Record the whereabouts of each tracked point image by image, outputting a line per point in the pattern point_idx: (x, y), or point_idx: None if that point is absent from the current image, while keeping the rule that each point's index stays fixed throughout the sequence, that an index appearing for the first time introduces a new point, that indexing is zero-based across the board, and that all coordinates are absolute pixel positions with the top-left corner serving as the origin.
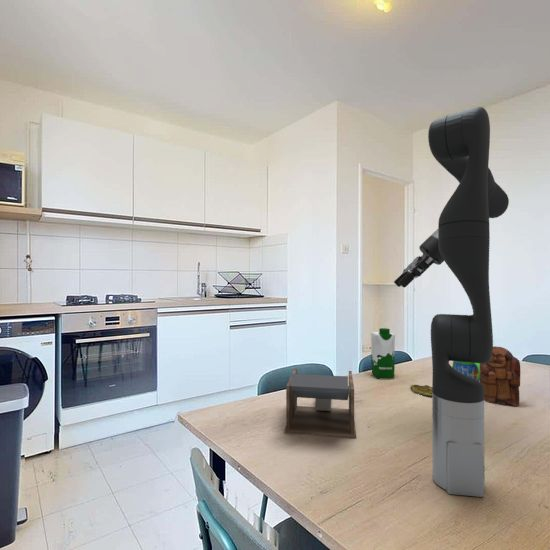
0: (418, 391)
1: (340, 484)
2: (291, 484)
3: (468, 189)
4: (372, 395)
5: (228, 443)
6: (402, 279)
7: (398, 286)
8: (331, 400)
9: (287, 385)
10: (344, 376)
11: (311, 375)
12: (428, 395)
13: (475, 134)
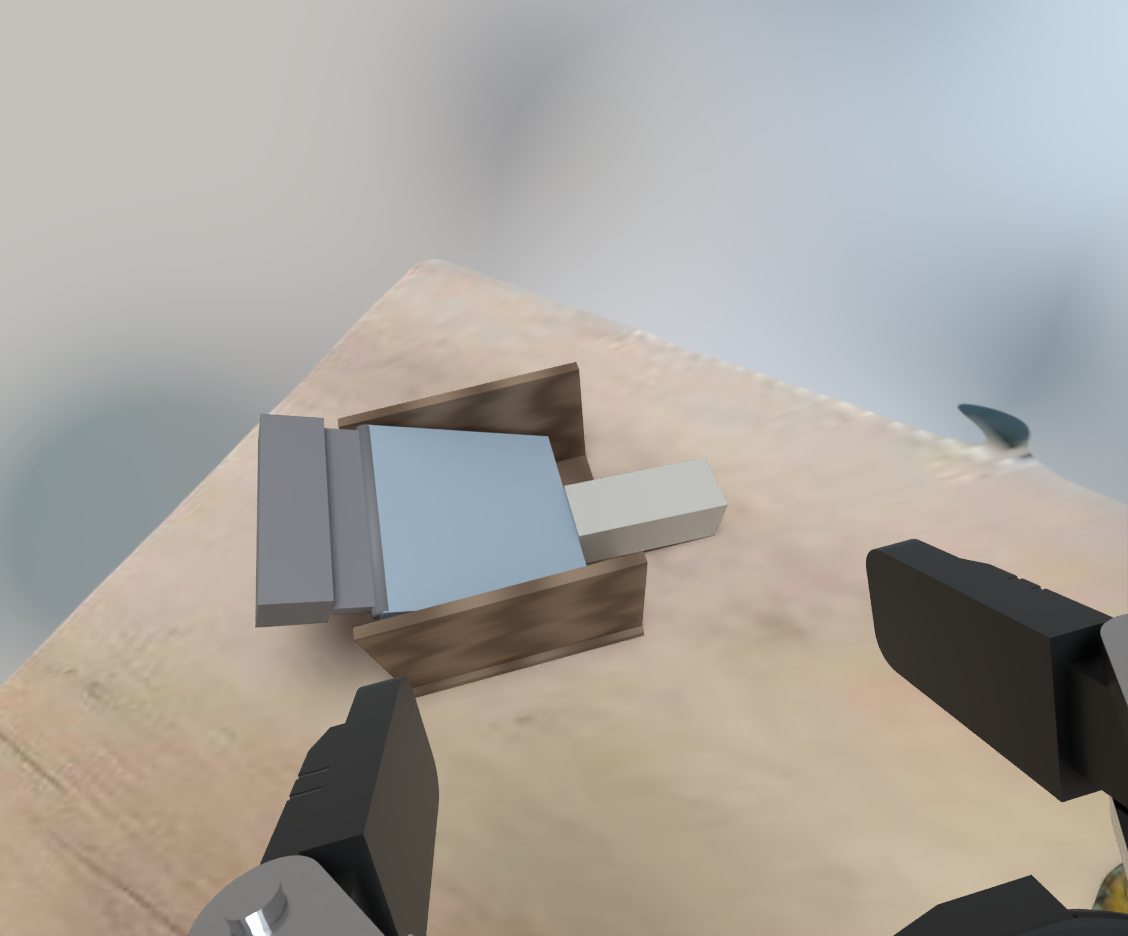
0: (1114, 905)
1: (129, 720)
2: (122, 611)
3: None
4: None
5: (294, 413)
6: (352, 732)
7: (878, 642)
8: (695, 535)
9: (340, 421)
10: (258, 592)
11: (259, 477)
12: None
13: None
